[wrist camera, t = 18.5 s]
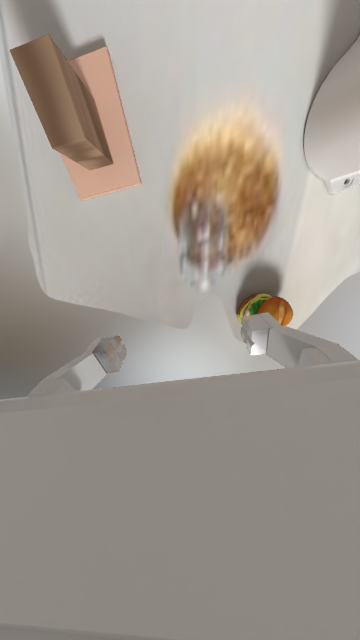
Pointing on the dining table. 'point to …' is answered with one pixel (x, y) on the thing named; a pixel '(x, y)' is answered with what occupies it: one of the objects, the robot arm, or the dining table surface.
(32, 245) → the dining table surface
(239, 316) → the cheeseburger
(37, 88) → the card box
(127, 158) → the mat
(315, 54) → the dining table surface
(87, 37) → the dining table surface
